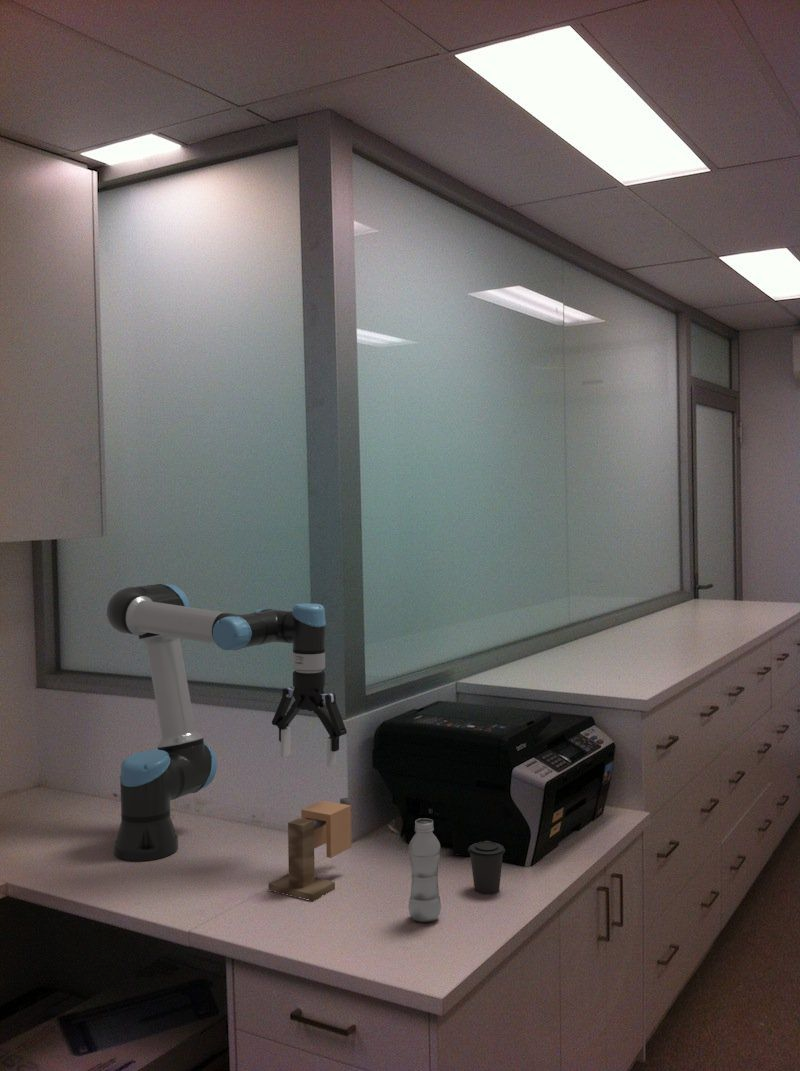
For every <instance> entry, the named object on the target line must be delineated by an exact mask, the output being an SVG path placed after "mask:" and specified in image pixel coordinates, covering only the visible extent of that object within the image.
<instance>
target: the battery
mask: <svg viewBox="0 0 800 1071" xmlns="http://www.w3.org/2000/svg"><path fill="white" fill-rule="evenodd" d="M457 835H458V833H457V834H456V833H454V834H453V833H452V853H453V855H454V854H459V855H458V856H460V855H465V856H464V857H467V856H469V857H471V856H470V852H469V851H468V848H469V842H468V839H467V838H466V837H464V836H463V837H462V835H461V836H460V834H459V835H458V836H457Z"/></svg>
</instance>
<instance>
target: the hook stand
mask: <svg viewBox="0 0 800 1071" xmlns="http://www.w3.org/2000/svg"><path fill="white" fill-rule="evenodd" d="M339 803H340V804H346V805H351V798H349V797H342V798H339ZM325 824H326V821H322V820H317V819H314V820H308V819H303V818H301V817H298V818H295V819H293V820H291V821H289V822H288V823H287V833H288V834H287V839H288V840H287V841H288V842H287V845H288V846H287V848H288V853H287V855H288V873H286V874H285V875H283V876H281V877H279V878H277V879H275V880H274V881H271V882H270V883H268V891H269V890H271V891H270V892H272V891H276V892H279V893H278V894H280V893H284V894H288V895H292V896H291V897H293V896H296V897H295V898H297V897H301V898H305V899H309V900H312V901H311V902H315V901H317V900H319V899H320V898H322V897H323V896H322V895H324V896H325V895H327V894H329V893H330V891H331V892H333V890H334V891H335V889H336V882H335V881H331V880H329V879H328V880H327V879H322V878H318V877H315V875H316V873H315V849H314V830H315V829H317V828H319V827H321V826H323V825H325ZM276 892H275V893H276ZM328 892H329V893H328ZM326 893H327V894H326ZM284 894H283V895H284ZM288 895H287V896H288ZM321 896H322V897H321ZM319 897H320V898H319ZM301 898H300V899H301ZM305 899H304V900H305ZM316 899H317V900H316ZM309 900H308V901H309ZM314 900H315V901H314Z"/></svg>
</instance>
